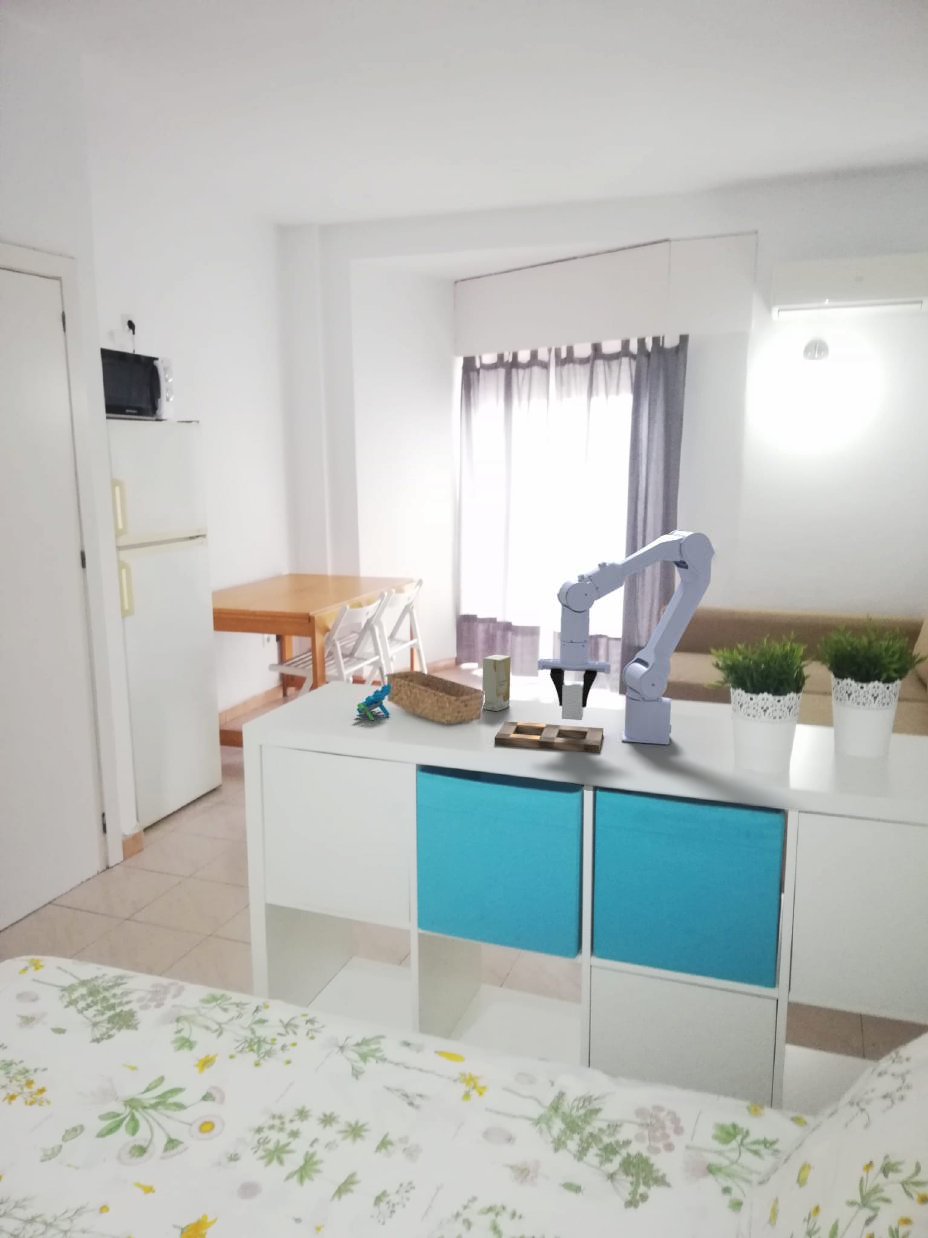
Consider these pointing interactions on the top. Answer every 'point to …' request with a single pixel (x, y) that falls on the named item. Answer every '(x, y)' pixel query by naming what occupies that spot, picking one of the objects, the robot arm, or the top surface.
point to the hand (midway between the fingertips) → (572, 705)
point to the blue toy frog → (375, 702)
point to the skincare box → (496, 682)
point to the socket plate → (549, 736)
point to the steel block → (572, 700)
